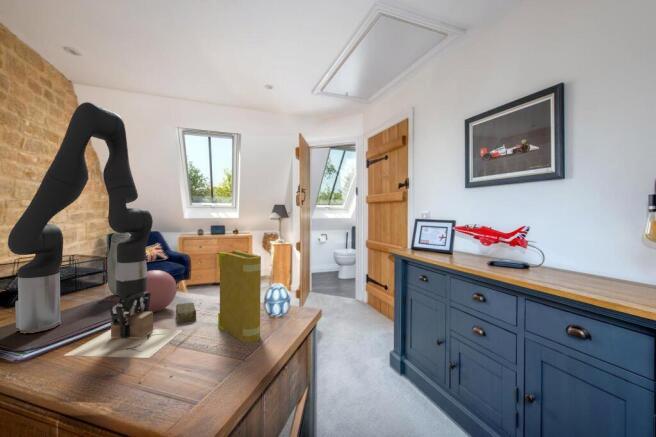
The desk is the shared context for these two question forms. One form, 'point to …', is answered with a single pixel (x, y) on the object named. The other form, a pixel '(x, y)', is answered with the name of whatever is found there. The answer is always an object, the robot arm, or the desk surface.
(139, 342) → the birch board
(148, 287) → the pink egg
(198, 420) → the desk surface
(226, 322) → the book
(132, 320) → the block
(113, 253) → the grey vase
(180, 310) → the stone block
